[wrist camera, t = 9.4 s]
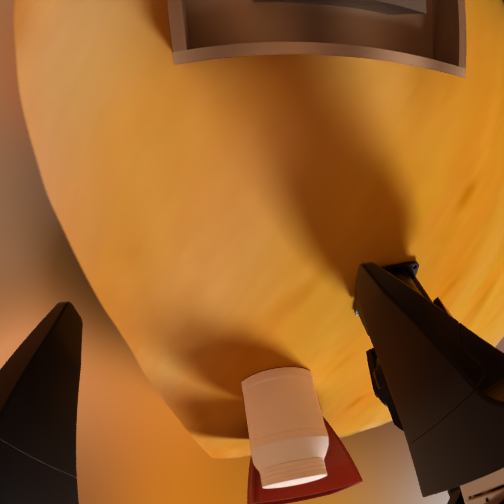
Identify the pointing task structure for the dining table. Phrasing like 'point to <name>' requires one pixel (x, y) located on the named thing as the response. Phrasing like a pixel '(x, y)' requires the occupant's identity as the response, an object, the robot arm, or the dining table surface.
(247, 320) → the dining table surface
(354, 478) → the plant pot
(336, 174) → the dining table surface
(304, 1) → the block
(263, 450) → the jar
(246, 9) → the brown tray
